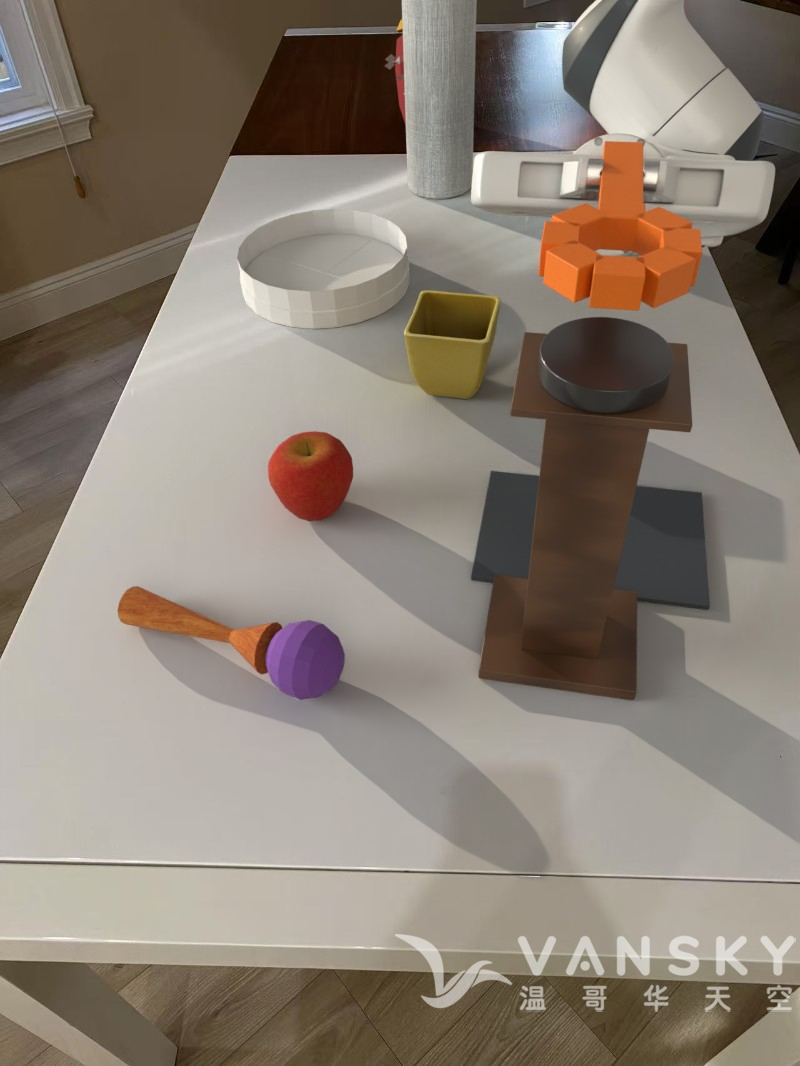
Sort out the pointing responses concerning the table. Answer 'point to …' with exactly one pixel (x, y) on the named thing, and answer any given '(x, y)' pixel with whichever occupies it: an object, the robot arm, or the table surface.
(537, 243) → the table surface
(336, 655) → the kendama
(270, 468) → the apple
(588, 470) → the stand
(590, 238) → the orange ring
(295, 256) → the dish
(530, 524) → the mat
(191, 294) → the table surface
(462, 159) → the vase
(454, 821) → the table surface
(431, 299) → the flower pot
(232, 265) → the table surface
